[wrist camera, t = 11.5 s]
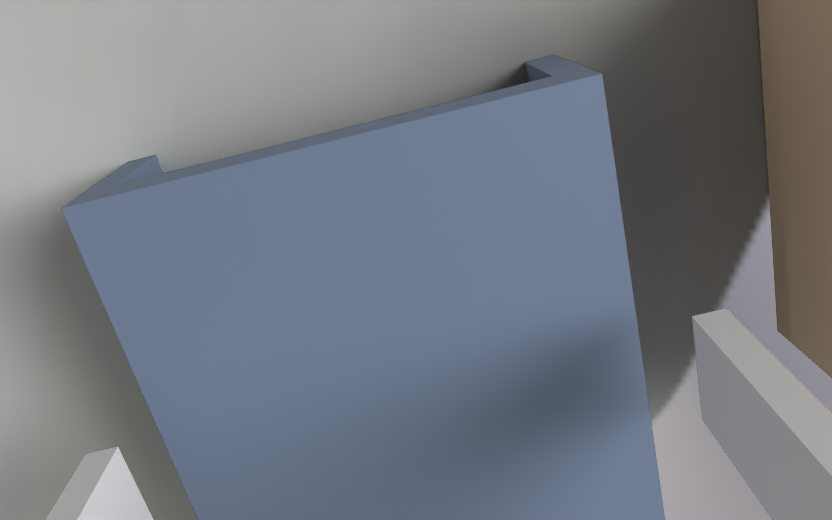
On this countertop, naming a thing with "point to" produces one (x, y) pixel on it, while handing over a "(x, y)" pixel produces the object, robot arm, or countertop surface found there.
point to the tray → (800, 167)
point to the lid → (390, 315)
